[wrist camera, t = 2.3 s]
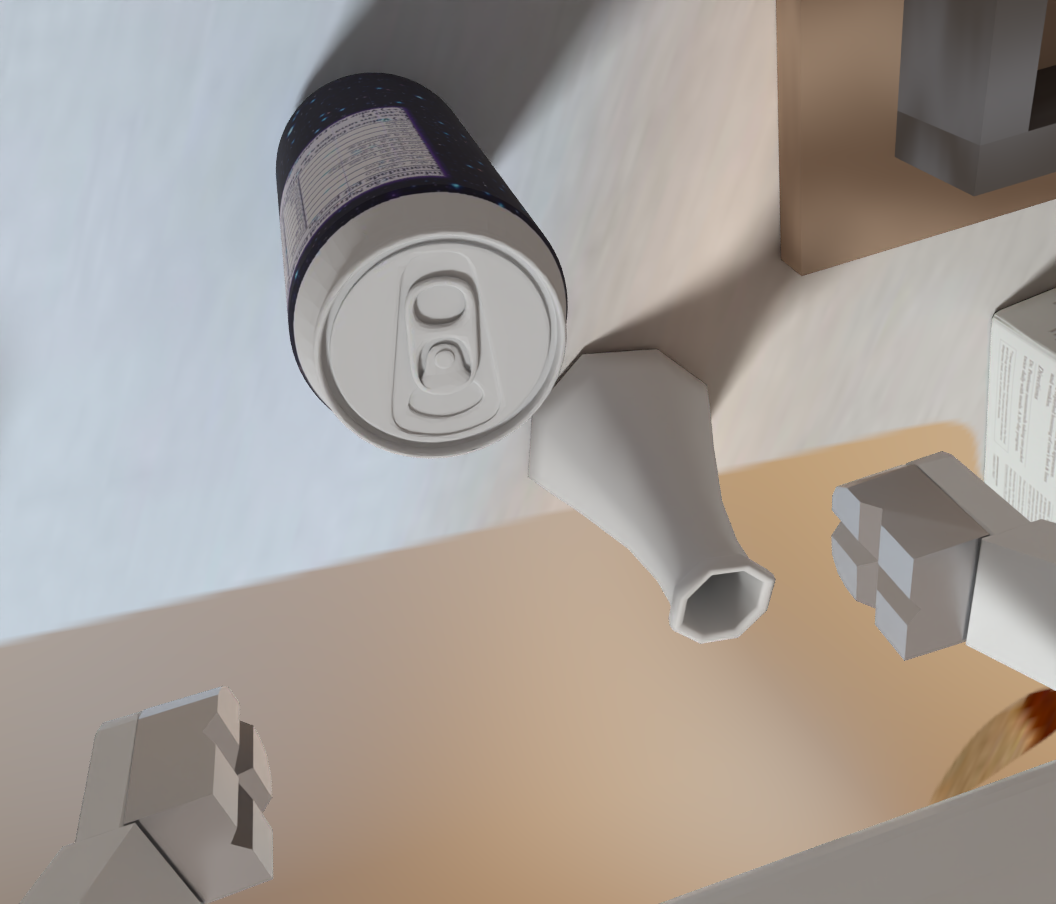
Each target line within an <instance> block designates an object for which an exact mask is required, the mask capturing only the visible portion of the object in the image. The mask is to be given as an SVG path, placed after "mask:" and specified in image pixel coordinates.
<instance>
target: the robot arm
mask: <svg viewBox="0 0 1056 904" xmlns="http://www.w3.org/2000/svg"><path fill="white" fill-rule="evenodd" d="M832 511H833V512H834V513H835V514H836V516H837V517H838V518H839V519H840V520H841V522H840V524H839V525H838V526H837V528H836V529H835V531H834V533H833V534H832V555H833V559H834V562H835V565H836V568H837V572H838V574H839V576H840V578H841V579H842V581H843V583H844V585H845V587H846V588H847V589H848V591H849V592H850V593H851V595H852V596H853V597H854V599H855V600H856V601H858V602H861V603H863V604H866V605H868V606H871V607H873V608H876V616H875V625H876V626H877V627H878V629H879V630H880V631H881V632H882V634H883V635H884V636H885V637H886V639H887V640H888V641H889V642H890V643H891V645H892V646H893V647H894V648H895V650H896V651H897V652H898V653H899V654H900V656H901V657H902V658H903V659H904V661H905V660H908V659H912V658H915V657H918V656H921V655H924V654H927V653H931V652H933V651H937V650H940V649H943V648H946V647H950V646H953V645H956V644H959V643H962V642H965V641H966V645H967V646H969V647H971V648H973V649H975V650H977V651H979V652H981V653H983V654H985V655H987V656H989V657H991V658H993V659H995V660H997V661H999V662H1001V663H1003V664H1005V665H1006V666H1008V667H1010V668H1013V669H1015V670H1016V671H1019V672H1020V673H1022V674H1024V675H1026V676H1028V677H1030V678H1032V679H1034V680H1036V681H1038V682H1040V683H1042V684H1044V685H1046V686H1048V687H1050V688H1052V689H1054V690H1055V691H1056V523H1054V522H1050V521H1047V520H1043V519H1040V520H1036V521H1033V522H1030V521H1029V520H1028V519H1027V518H1025V517H1024V516H1023V515H1022V514H1021V513H1020V512H1018V511H1017V510H1016V509H1015V508H1014V507H1013V506H1011V505H1010V504H1009V503H1008V502H1007V501H1006V500H1004V499H1003V498H1002V497H1001V496H1000V495H998V494H997V493H996V492H995V491H994V490H993V489H991V488H990V487H989V486H988V485H987V484H986V483H984V482H983V481H982V480H981V479H980V478H979V477H977V476H976V475H975V474H974V473H973V472H972V471H970V470H969V469H968V468H967V467H966V466H965V465H963V464H962V463H961V462H960V461H959V460H958V459H956V458H955V457H954V456H953V455H951V454H949V453H946V452H943V451H941V452H938V453H935V454H932V455H929V456H926V457H923V458H920V459H917V460H914V461H911V462H908V463H907V464H906V465H900V466H897V467H894V468H891V469H888V470H885V471H882V472H879V473H876V474H873V475H870V476H867V477H864V478H861V479H858V480H855V481H852V482H849V483H846V484H843V485H840V486H837V487H836V489H835V491H834V493H833V495H832ZM271 782H272V781H271V773H270V768H269V763H268V758H267V753H266V751H265V748H264V746H263V743H262V741H261V738H260V736H259V735H258V733H257V731H256V730H255V728H254V726H253V725H250V724H247V723H245V722H242V721H240V703H239V702H238V700H237V699H236V698H235V696H234V694H233V693H232V691H231V690H230V688H229V687H218V688H215V689H212V690H208V691H205V692H202V693H198V694H195V695H192V696H188V697H185V698H182V699H178V700H175V701H172V702H168V703H165V704H161V705H158V706H155V707H151V708H148V709H145V710H143V711H141V712H138V713H134V714H131V715H128V716H124V717H121V718H118V719H114V720H111V721H107V722H104V723H103V724H102V725H101V727H100V728H99V730H98V731H97V733H96V735H95V739H94V744H93V749H92V755H91V760H90V766H89V771H88V776H87V782H86V787H85V792H84V797H83V803H82V808H81V813H80V818H79V824H78V829H77V834H76V840H75V843H72V844H69V845H67V846H64V847H62V848H61V850H60V851H59V852H58V853H57V855H56V856H55V857H54V859H53V860H52V861H51V863H50V864H49V865H48V867H47V868H46V869H45V871H44V872H43V873H42V874H41V876H40V877H39V878H38V880H37V881H36V882H35V884H34V885H33V886H32V888H31V889H30V890H29V892H28V893H27V894H26V896H25V897H24V898H23V899H22V901H21V902H20V903H19V904H208V903H210V902H213V901H216V900H218V899H221V898H224V897H226V896H229V895H232V894H234V893H237V892H240V891H242V890H245V889H248V888H250V887H253V886H256V885H258V884H261V883H264V882H266V881H269V880H272V879H273V834H272V833H273V830H272V828H271V826H270V825H269V823H268V822H267V820H266V819H265V817H264V816H263V812H264V810H265V808H266V807H267V805H268V804H269V802H270V800H271V799H272V783H271ZM660 904H1056V760H1054V761H1051V762H1048V763H1046V764H1042V765H1040V766H1037V767H1034V768H1031V769H1029V770H1026V771H1023V772H1020V773H1018V774H1015V775H1012V776H1010V777H1007V778H1004V779H1001V780H999V781H995V782H993V783H990V784H987V785H985V786H982V787H979V788H976V789H973V790H971V791H968V792H965V793H962V794H960V795H957V796H954V797H951V798H949V799H946V800H943V801H940V802H938V803H935V804H932V805H929V806H927V807H924V808H921V809H918V810H916V811H913V812H910V813H908V814H905V815H902V816H899V817H896V818H894V819H891V820H888V821H886V822H883V823H880V824H877V825H874V826H872V827H869V828H866V829H864V830H861V831H858V832H855V833H853V834H850V835H847V836H844V837H841V838H839V839H836V840H833V841H831V842H828V843H825V844H822V845H819V846H817V847H814V848H811V849H808V850H806V851H803V852H800V853H797V854H795V855H792V856H789V857H786V858H783V859H781V860H778V861H775V862H772V863H770V864H767V865H764V866H761V867H759V868H756V869H753V870H750V871H748V872H745V873H742V874H739V875H737V876H734V877H731V878H728V879H726V880H723V881H720V882H717V883H715V884H712V885H709V886H706V887H704V888H701V889H698V890H695V891H693V892H690V893H687V894H684V895H682V896H679V897H676V898H674V899H671V900H668V901H665V902H663V903H660Z"/></svg>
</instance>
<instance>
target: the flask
mask: <svg viewBox="0 0 1056 904" xmlns="http://www.w3.org/2000/svg"><path fill="white" fill-rule="evenodd" d="M528 477H529V478H530V479H531V480H533V481H534V482H535V483H537V484H538V485H540V486H541V487H542V488H544V489H545V490H547V491H548V492H550V493H551V494H553V495H554V496H556V497H557V498H559V499H560V500H562V501H563V502H565V503H566V504H567V505H569V506H570V507H572V508H573V509H575V510H576V511H578V512H579V513H581V514H582V515H584V516H585V517H586V518H588V519H589V520H590V521H592V522H593V523H594V524H596V525H597V526H598V527H600V528H601V529H602V530H604V531H605V532H606V533H608V534H609V535H610V536H612V537H613V538H615V539H616V540H617V541H618V542H620V543H621V544H622V545H624V546H625V547H626V548H628V549H629V550H630V551H631V552H632V554H633V555H634V556H635V557H636V558H637V559H638V560H639V561H640V562H641V564H642V565H643V566H644V567H645V568H646V569H647V570H648V571H649V572H650V573H651V574H652V576H653V577H654V578H655V579H656V580H657V582H658V583H659V585H660V587H661V589H662V590H663V592H664V594H665V596H666V597H667V599H668V600H669V602H670V605H671V609H670V614H669V623H670V626H671V628H672V629H673V630H674V631H675V632H678V633H680V634H682V635H684V636H686V637H688V638H690V639H692V640H694V641H696V642H698V643H700V644H701V643H707V642H713V641H720V640H725V639H732V638H738V637H739V636H740V635H741V634H742V633H743V632H745V631H746V630H747V629H748V628H749V627H750V626H751V625H752V624H753V623H754V622H755V621H756V620H757V619H758V618H759V617H760V616H761V615H762V614H763V613H764V612H765V611H767V608H768V605H769V601H770V598H771V594H772V590H773V587H774V583H775V578H774V575H773V574H772V573H771V572H769V571H768V570H767V569H766V568H764V567H762V566H760V565H759V564H757V563H755V562H754V561H752V560H750V559H749V558H748V556H747V555H746V553H745V552H744V550H743V549H742V547H741V546H740V544H739V543H738V541H737V539H736V537H735V534H734V531H733V529H732V526H731V523H730V521H729V518H728V515H727V513H726V511H725V508H724V505H723V502H722V497H721V491H720V485H719V478H718V471H717V465H716V458H715V452H714V445H713V435H712V424H711V414H710V404H709V396H708V390H707V385H706V384H704V383H703V382H702V381H700V380H699V379H697V378H696V377H695V376H693V375H692V374H691V373H689V372H688V371H686V370H685V369H684V368H682V367H681V366H680V365H678V364H677V363H675V362H674V361H673V360H671V359H670V358H669V357H667V356H666V355H664V354H663V353H662V352H660V351H659V350H658V349H651V350H637V351H623V352H609V353H595V354H582V355H581V356H580V358H579V359H578V360H577V361H576V362H575V363H574V365H573V366H572V367H571V368H570V369H569V370H568V372H567V373H566V374H565V375H564V376H563V377H562V379H561V380H560V381H559V382H558V383H557V385H556V386H555V387H554V388H553V389H552V390H551V392H550V393H549V395H548V396H547V398H546V399H545V401H544V402H543V404H542V405H541V406H540V408H539V409H538V410H537V411H536V412H535V413H534V414H533V415H532V421H531V436H530V451H529V466H528Z"/></svg>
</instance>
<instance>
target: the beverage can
mask: <svg viewBox="0 0 1056 904" xmlns="http://www.w3.org/2000/svg"><path fill="white" fill-rule="evenodd" d="M276 180H277V192H278V204H279V216H280V228H281V240H282V252H283V264H284V276H285V287H286V299H287V311H288V323H289V334H290V341H291V345H292V350H293V353H294V356H295V360H296V362H297V365H298V367H299V369H300V371H301V373H302V375H303V377H304V379H305V380H306V382H307V384H308V385H309V387H310V388H311V389H312V391H313V392H314V393H315V395H316V396H317V397H318V398H319V399H320V400H321V401H322V402H323V403H324V404H325V405H326V406H327V407H328V408H329V409H330V410H332V411H333V413H334V414H335V415H336V416H337V417H338V419H339V420H340V421H341V422H342V423H343V424H344V425H345V426H346V427H347V428H348V429H350V430H351V431H352V432H353V433H355V434H356V435H357V436H358V437H360V438H361V439H363V440H365V441H367V442H368V443H370V444H372V445H374V446H375V447H378V448H380V449H383V450H386V451H388V452H391V453H394V454H399V455H403V456H408V457H416V458H428V459H429V458H447V457H453V456H458V455H464V454H467V453H470V452H474V451H477V450H480V449H483V448H485V447H487V446H489V445H491V444H494V443H496V442H498V441H500V440H501V439H503V438H505V437H506V436H508V435H509V434H511V433H512V432H514V431H515V430H517V429H518V428H519V427H520V426H521V425H523V424H524V423H525V422H526V421H527V420H529V418H530V417H531V416H532V415H533V414H534V413H535V412H536V411H537V410H538V409H539V408H540V406H541V405H542V404H543V402H544V401H545V399H546V398H547V396H548V395H549V393H550V392H551V390H552V388H553V386H554V384H555V382H556V380H557V378H558V376H559V373H560V370H561V367H562V363H563V360H564V355H565V348H566V320H567V309H568V304H567V289H566V284H565V278H564V275H563V271H562V268H561V265H560V263H559V260H558V258H557V256H556V254H555V252H554V250H553V248H552V246H551V245H550V243H549V241H548V240H547V239H546V237H545V236H544V234H543V233H542V232H541V230H540V229H539V228H538V226H537V225H536V224H535V222H534V221H533V219H532V218H531V217H530V215H529V214H528V213H527V211H526V210H525V209H524V207H523V206H522V205H521V203H520V202H519V201H518V199H517V198H516V197H515V195H514V194H513V193H512V191H511V190H510V189H509V187H508V186H507V184H506V183H505V182H504V180H503V179H502V178H501V176H500V175H499V174H498V172H497V171H496V170H495V168H494V167H493V166H492V164H491V163H490V162H489V160H488V159H487V158H486V156H485V155H484V153H483V152H482V151H481V149H480V148H479V147H478V145H477V144H476V143H475V141H474V140H473V139H472V137H471V136H470V135H469V133H468V132H467V131H466V129H465V128H464V127H463V125H462V124H461V122H460V121H459V120H458V118H457V117H456V116H455V114H454V113H453V112H452V111H451V109H450V108H449V107H448V106H447V105H446V104H445V103H444V102H443V101H442V100H441V99H440V98H439V97H438V96H437V95H435V94H434V93H433V92H431V91H430V90H428V89H427V88H425V87H424V86H422V85H420V84H418V83H416V82H414V81H411V80H409V79H406V78H403V77H400V76H396V75H392V74H385V73H361V74H355V75H350V76H346V77H343V78H340V79H337V80H335V81H333V82H330V83H328V84H326V85H325V86H323V87H321V88H320V89H318V90H317V91H315V92H314V93H313V94H311V95H310V96H309V97H308V98H307V99H306V100H305V101H304V102H303V103H302V104H301V105H300V106H299V107H298V108H297V110H296V111H295V112H294V114H293V115H292V117H291V118H290V120H289V122H288V123H287V125H286V127H285V130H284V132H283V134H282V137H281V140H280V143H279V147H278V152H277V160H276Z"/></svg>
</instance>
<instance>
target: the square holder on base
mask: <svg viewBox="0 0 1056 904" xmlns="http://www.w3.org/2000/svg"><path fill="white" fill-rule="evenodd" d="M776 20H777V73H778V127H779V180H780V233H781V260H782V261H783V262H785V263H786V264H787V265H788V266H790V267H791V268H792V269H793V270H795V271H796V272H797V273H798V274H800V275H801V276H804V275H807V274H810V273H813V272H817V271H820V270H823V269H827V268H830V267H833V266H837V265H840V264H843V263H846V262H850V261H853V260H856V259H860V258H863V257H866V256H869V255H873V254H876V253H879V252H883V251H886V250H889V249H892V248H896V247H899V246H902V245H906V244H909V243H912V242H915V241H919V240H922V239H925V238H929V237H932V236H935V235H938V234H942V233H945V232H948V231H952V230H955V229H958V228H962V227H965V226H968V225H971V224H975V223H978V222H981V221H985V220H988V219H991V218H994V217H998V216H1001V215H1004V214H1008V213H1011V212H1014V211H1017V210H1021V209H1024V208H1027V207H1031V206H1034V205H1037V204H1040V203H1044V202H1047V201H1050V200H1054V199H1056V0H776Z"/></svg>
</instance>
